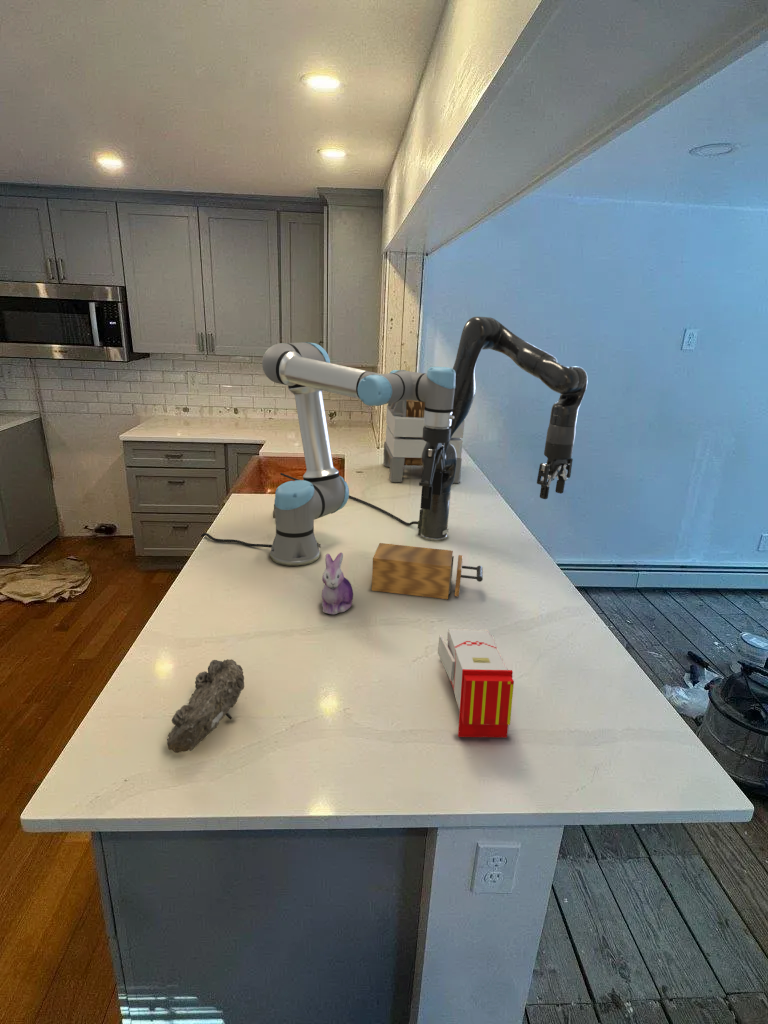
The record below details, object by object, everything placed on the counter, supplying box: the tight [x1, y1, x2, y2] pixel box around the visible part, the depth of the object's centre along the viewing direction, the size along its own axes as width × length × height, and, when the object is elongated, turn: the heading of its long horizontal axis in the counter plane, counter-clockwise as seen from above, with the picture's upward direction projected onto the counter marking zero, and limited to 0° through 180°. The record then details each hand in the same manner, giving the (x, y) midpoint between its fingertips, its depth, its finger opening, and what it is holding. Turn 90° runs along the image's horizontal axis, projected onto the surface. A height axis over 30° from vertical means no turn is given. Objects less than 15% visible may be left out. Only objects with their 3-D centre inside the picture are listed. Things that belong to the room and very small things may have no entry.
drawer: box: [449, 554, 484, 598], centre depth 160 cm, size 26×10×8 cm, turn 81°
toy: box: [437, 628, 515, 738], centre depth 117 cm, size 12×13×30 cm
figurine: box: [321, 552, 354, 615], centre depth 147 cm, size 9×10×15 cm
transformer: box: [383, 400, 465, 484], centre depth 268 cm, size 34×33×41 cm
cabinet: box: [371, 542, 454, 600], centre depth 161 cm, size 21×11×10 cm, turn 81°
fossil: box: [166, 658, 245, 754], centre depth 106 cm, size 22×10×15 cm
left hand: (430, 501), depth 159 cm, fingers open, 13 cm apart
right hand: (551, 495), depth 163 cm, fingers open, 8 cm apart
